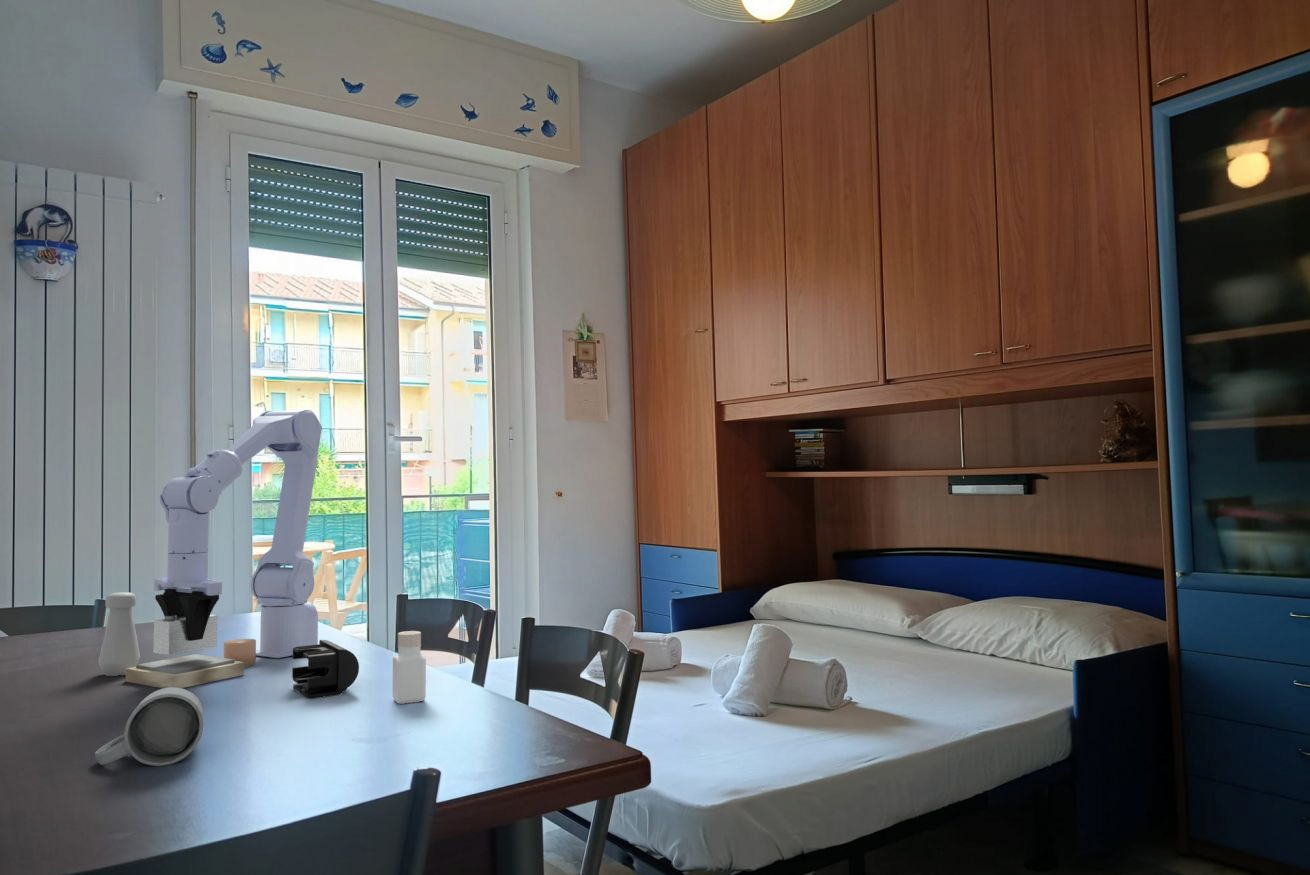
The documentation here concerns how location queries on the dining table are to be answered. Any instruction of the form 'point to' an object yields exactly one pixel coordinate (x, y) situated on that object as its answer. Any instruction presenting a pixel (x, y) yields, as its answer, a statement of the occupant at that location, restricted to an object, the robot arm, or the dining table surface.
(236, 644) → the peach rounded cylinder
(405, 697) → the pepper shaker
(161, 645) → the alloy housing
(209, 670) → the birch plinth
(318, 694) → the end cap
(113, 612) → the salt shaker
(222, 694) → the dining table surface
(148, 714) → the ceramic mug
